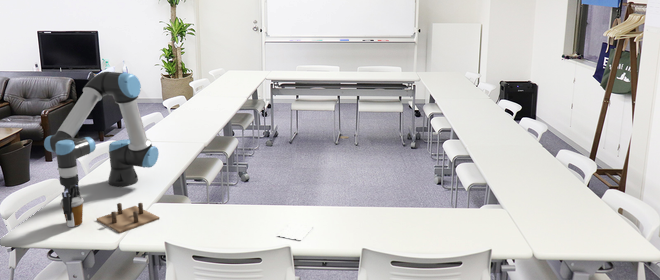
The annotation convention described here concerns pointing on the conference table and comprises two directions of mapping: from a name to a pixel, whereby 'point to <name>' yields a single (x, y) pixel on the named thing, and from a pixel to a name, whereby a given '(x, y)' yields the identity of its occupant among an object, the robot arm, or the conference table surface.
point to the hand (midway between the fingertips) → (74, 221)
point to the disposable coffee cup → (76, 209)
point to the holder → (127, 218)
